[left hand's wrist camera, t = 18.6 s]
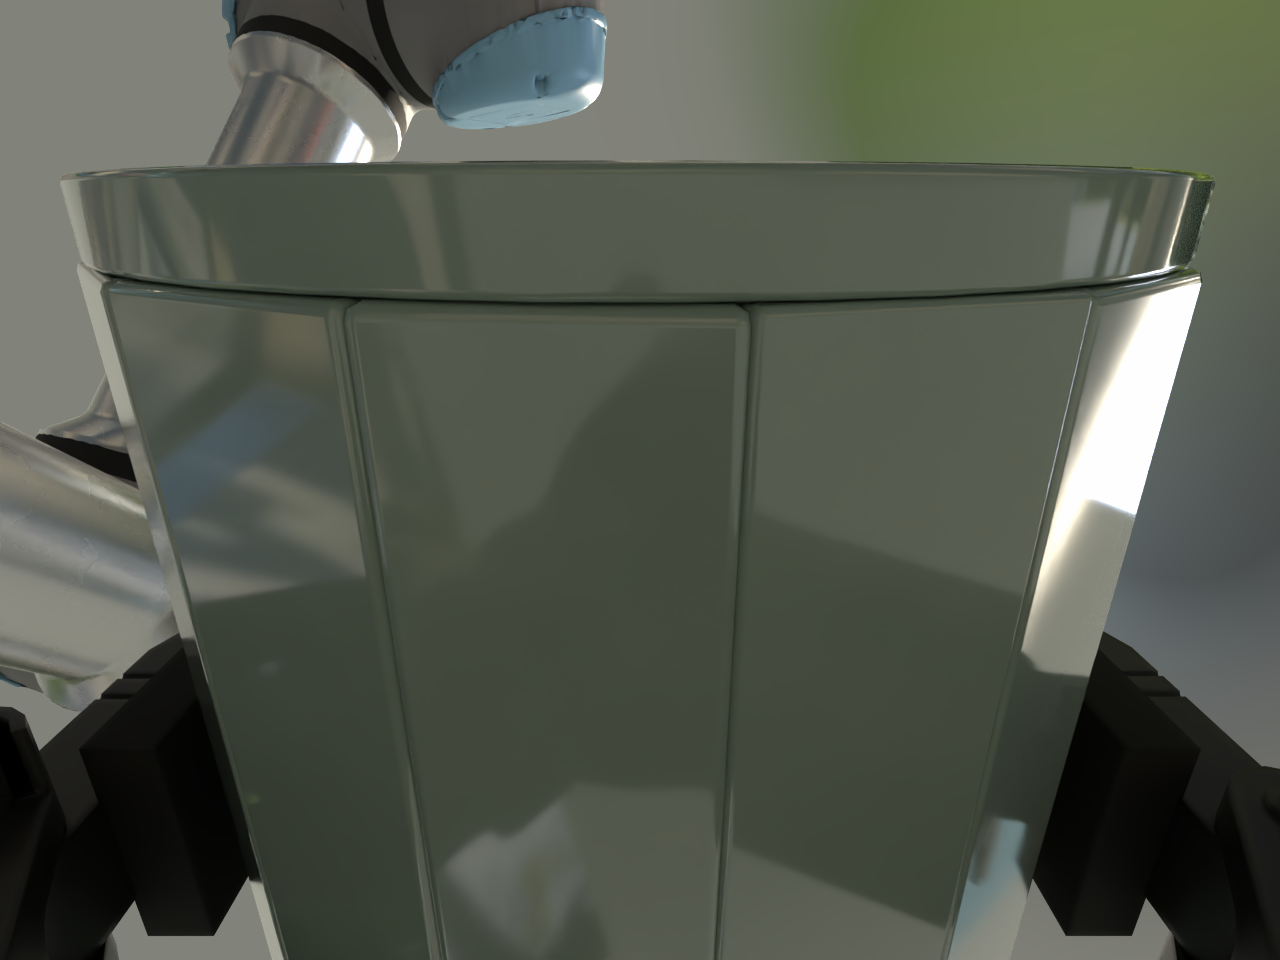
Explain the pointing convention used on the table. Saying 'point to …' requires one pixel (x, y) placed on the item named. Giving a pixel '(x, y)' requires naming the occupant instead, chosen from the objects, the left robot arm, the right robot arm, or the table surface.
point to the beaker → (640, 531)
